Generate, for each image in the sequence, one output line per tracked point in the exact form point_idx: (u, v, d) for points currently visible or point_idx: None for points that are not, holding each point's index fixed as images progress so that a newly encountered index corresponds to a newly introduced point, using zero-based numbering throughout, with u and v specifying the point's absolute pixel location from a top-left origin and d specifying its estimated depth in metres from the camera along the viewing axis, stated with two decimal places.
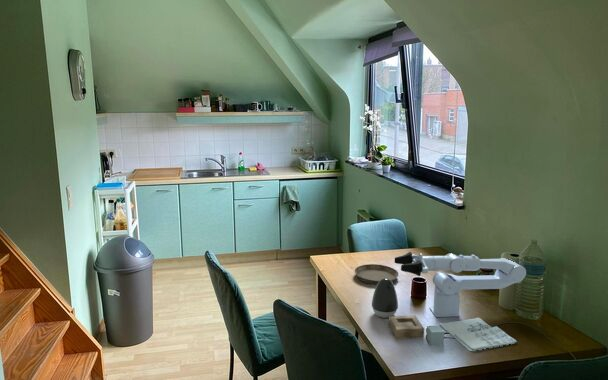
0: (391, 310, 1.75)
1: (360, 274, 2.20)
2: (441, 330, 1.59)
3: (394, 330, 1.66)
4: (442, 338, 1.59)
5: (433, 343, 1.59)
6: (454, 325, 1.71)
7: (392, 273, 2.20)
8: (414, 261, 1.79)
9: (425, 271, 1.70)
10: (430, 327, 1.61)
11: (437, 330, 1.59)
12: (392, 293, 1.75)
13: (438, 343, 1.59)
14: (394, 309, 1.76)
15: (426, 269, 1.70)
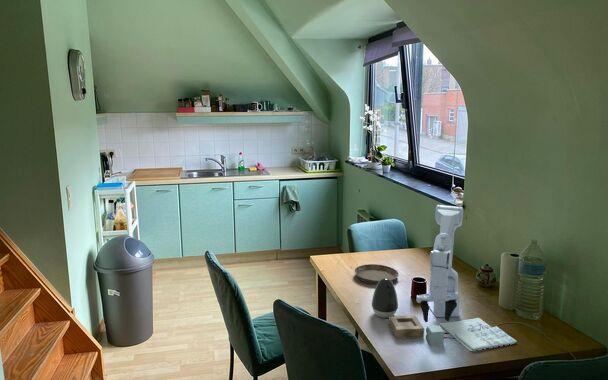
0: (391, 310, 1.75)
1: (360, 274, 2.20)
2: (441, 330, 1.59)
3: (394, 330, 1.66)
4: (442, 338, 1.59)
5: (433, 343, 1.59)
6: (454, 325, 1.71)
7: (392, 273, 2.20)
8: (432, 301, 1.58)
9: None
10: (430, 327, 1.61)
11: (437, 330, 1.59)
12: (392, 293, 1.75)
13: (438, 343, 1.59)
14: (394, 309, 1.76)
15: None
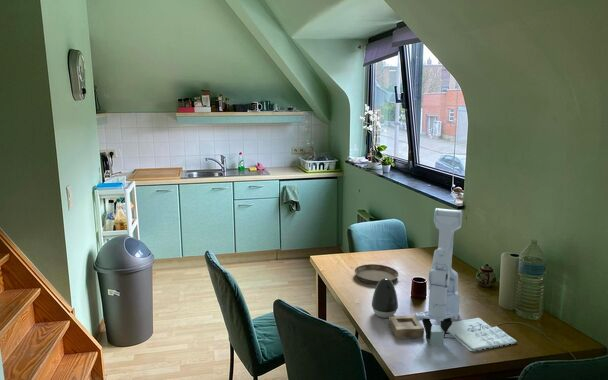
0: (391, 310, 1.75)
1: (360, 274, 2.20)
2: (441, 330, 1.59)
3: (394, 330, 1.66)
4: (442, 338, 1.59)
5: (433, 343, 1.59)
6: (454, 325, 1.71)
7: (392, 273, 2.20)
8: None
9: None
10: None
11: (437, 330, 1.59)
12: (392, 293, 1.75)
13: (438, 343, 1.59)
14: (394, 309, 1.76)
15: None
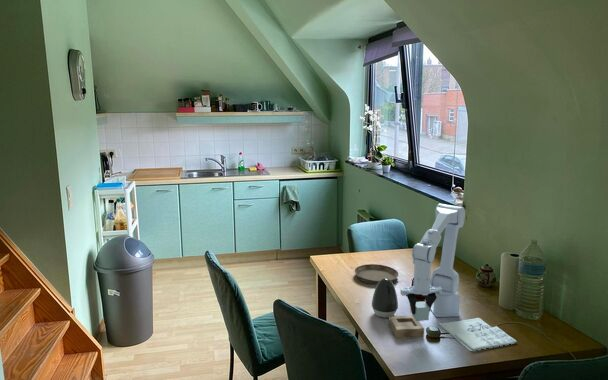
0: (391, 310, 1.75)
1: (360, 274, 2.20)
2: (426, 306, 1.61)
3: (394, 330, 1.66)
4: (427, 313, 1.61)
5: (419, 318, 1.61)
6: (454, 325, 1.71)
7: (392, 273, 2.20)
8: None
9: None
10: None
11: (423, 306, 1.61)
12: (392, 293, 1.75)
13: (423, 318, 1.61)
14: (394, 309, 1.76)
15: None
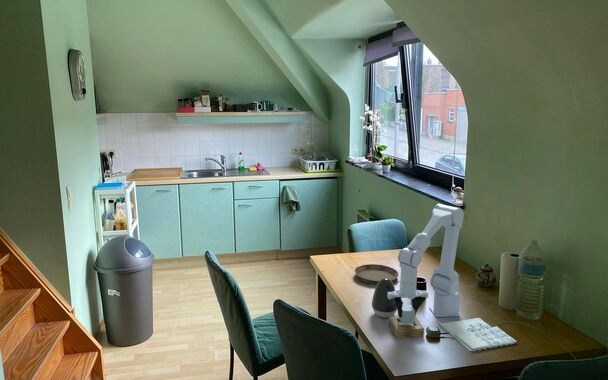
0: (391, 310, 1.75)
1: (360, 274, 2.20)
2: (412, 309, 1.65)
3: (394, 330, 1.66)
4: (413, 317, 1.65)
5: (405, 321, 1.65)
6: (454, 325, 1.71)
7: (392, 273, 2.20)
8: (402, 297, 1.65)
9: None
10: (402, 306, 1.67)
11: (409, 309, 1.65)
12: None
13: (409, 321, 1.65)
14: (394, 309, 1.76)
15: None
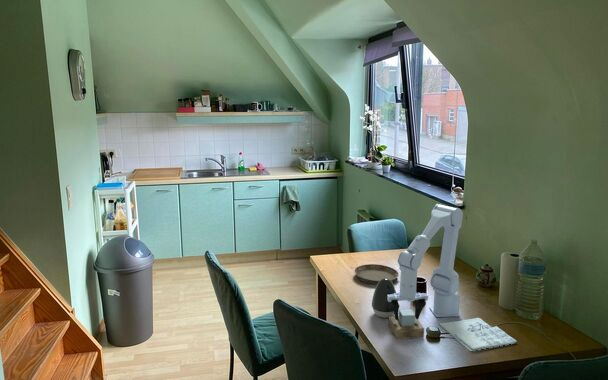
0: (391, 310, 1.75)
1: (360, 274, 2.20)
2: (412, 314, 1.65)
3: (394, 330, 1.66)
4: (413, 321, 1.65)
5: None
6: (454, 325, 1.71)
7: (392, 273, 2.20)
8: (402, 300, 1.66)
9: None
10: (402, 311, 1.68)
11: (408, 314, 1.65)
12: (392, 293, 1.75)
13: None
14: None
15: None
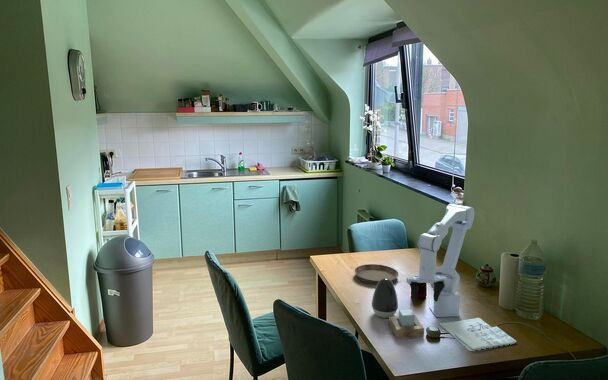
0: (391, 310, 1.75)
1: (360, 274, 2.20)
2: (412, 314, 1.65)
3: (394, 330, 1.66)
4: (413, 321, 1.65)
5: None
6: (454, 325, 1.71)
7: (392, 273, 2.20)
8: (421, 282, 1.68)
9: None
10: (402, 311, 1.68)
11: (408, 314, 1.65)
12: (392, 293, 1.75)
13: None
14: (394, 309, 1.76)
15: None
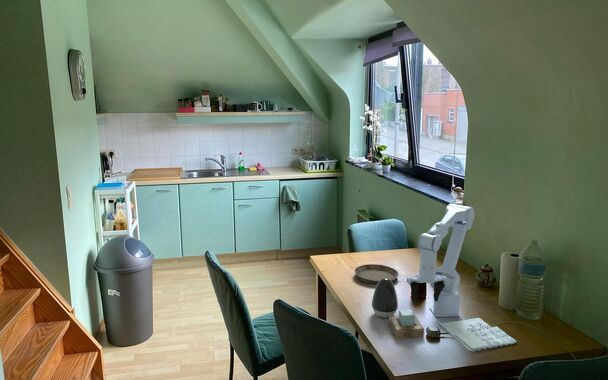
0: (391, 310, 1.75)
1: (360, 274, 2.20)
2: (412, 314, 1.65)
3: (394, 330, 1.66)
4: (413, 321, 1.65)
5: None
6: (454, 325, 1.71)
7: (392, 273, 2.20)
8: (421, 282, 1.68)
9: None
10: (402, 311, 1.68)
11: (408, 314, 1.65)
12: (392, 293, 1.75)
13: None
14: (394, 309, 1.76)
15: None
